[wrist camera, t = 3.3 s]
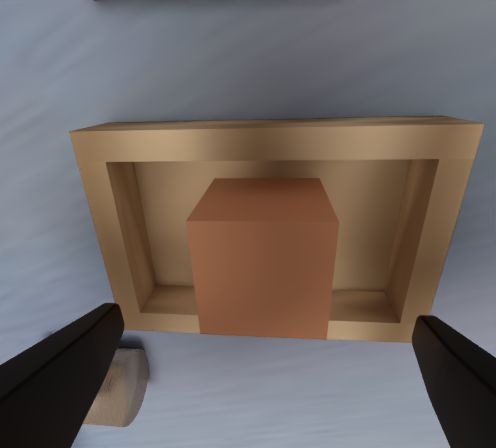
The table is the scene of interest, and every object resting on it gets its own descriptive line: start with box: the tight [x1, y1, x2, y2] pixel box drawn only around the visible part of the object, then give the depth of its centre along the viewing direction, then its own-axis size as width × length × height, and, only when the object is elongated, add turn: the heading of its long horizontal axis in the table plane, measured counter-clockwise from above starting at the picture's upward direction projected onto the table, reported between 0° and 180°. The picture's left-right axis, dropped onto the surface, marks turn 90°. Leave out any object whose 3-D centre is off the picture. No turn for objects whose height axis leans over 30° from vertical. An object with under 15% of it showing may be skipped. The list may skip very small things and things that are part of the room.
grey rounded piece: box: [83, 348, 148, 427], centre depth 20 cm, size 7×4×4 cm
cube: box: [186, 178, 339, 340], centre depth 13 cm, size 5×5×5 cm
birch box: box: [69, 116, 484, 343], centre depth 15 cm, size 15×10×3 cm
